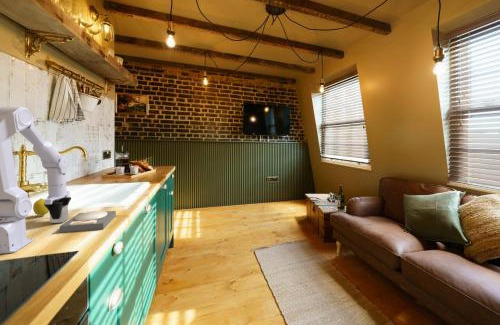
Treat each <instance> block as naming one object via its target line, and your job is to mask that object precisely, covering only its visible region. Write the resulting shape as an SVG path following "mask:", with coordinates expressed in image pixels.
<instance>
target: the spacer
mask: <svg viewBox="0 0 500 325" xmlns="http://www.w3.org/2000/svg"><path fill="white" fill-rule="evenodd" d="M48 213H49V223H50V224H57V223H58V224H59V223H65V222H67V221H68V220H69V204H68V205H62V206H61V210H60V218H59V219H52V217H51V214H50V212H48Z"/></svg>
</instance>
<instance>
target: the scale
mask: <svg viewBox="0 0 500 325" xmlns="http://www.w3.org/2000/svg"><path fill="white" fill-rule="evenodd" d="M116 217H117V211H116V210H110V211H109V210H108V211H104V210H94V211H86V212H78V213H77V214H76V215H75V216H72V217H71V218H70V219H67V220H66V221H64V222H63V224H61V225H59V233H62V234H63V233H72V232H73V233H75V232H86V231H98V230H101V231H102V230H105V229H106V227H107V226H108V225H110V223H111V222H113V220H114V219H115V218H116Z"/></svg>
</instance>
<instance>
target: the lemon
mask: <svg viewBox="0 0 500 325" xmlns="http://www.w3.org/2000/svg"><path fill="white" fill-rule="evenodd" d="M45 199H46V198H39V199H37V200H36V201H35V202H34V203H33V204H32V211H33V212H34V214H35V215H37V216H40V217H44V216H45V215H47V214H48V213H49V210H48V209H47V208H46V207H45V206H44V203H45Z"/></svg>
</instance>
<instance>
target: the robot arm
mask: <svg viewBox="0 0 500 325" xmlns="http://www.w3.org/2000/svg"><path fill="white" fill-rule="evenodd" d="M34 123H35V118H34V116H33V114H32V113H31V111H30V110H29V109H28V108H27V107H24V106H19V107H17V106H16V107H15V106H9V107H8V106H0V255H1V254H2V255H3V254H12V253H16V252H18V251H19V250H20V249H22V248H23V247H25V246H26V245H28V244H30V243H31V242H33V241H34V240H35V238H34V237H31V238H27V237H28V235H27V226H26V225H27V223H26V218H27V217H28V216H29V214H30V213H31V212H32V210H33V203H32V201H31V199H30V198H29V193H28V192H26V191H25V190H24V189H22V188H21V187H19V185H18V179H17V172H16V166H15V159H14V154H13V148H12V142H11V137H13V136H14V135H15V134H17V133H20V134H21V135H22V137H24V138H25V139H26V140H27V141H29V143H30V144H32V145H33V146H32V151H33V153H35V154H36V155H37V156H38V157H39V158H40V162H41V164H42V167H43V168H44V169H45V170H46V177H47V179H46V180H47V190H48V192H47V194H48V196H47V197H46V198H44V199H45V203H44V206H45V207H46V208H47V209H48V210H49V212H50V213H49V212H48V213H49V215H50V214H51V217H52V219H59V218H60V210H61V206H62V205H68V206H69V204H70V202H71V199H72V197H71V194H70V190H69V191H67V176H66V173H67V172H68V167H69V159H68V157H66V156H65V155H62V154H61V153H60V152H59V151H58V150H57V148H55V146H54V145H53V144H52V142H51V141H48V140H45V139H44V138H43V136H42V134H41V133H40V132H39V130H38V129H37V127H36V126H35V124H34Z"/></svg>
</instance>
